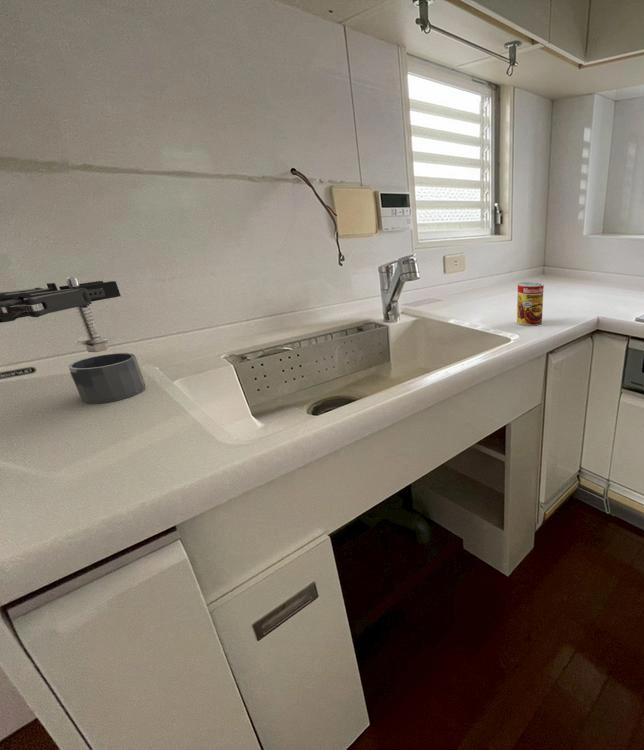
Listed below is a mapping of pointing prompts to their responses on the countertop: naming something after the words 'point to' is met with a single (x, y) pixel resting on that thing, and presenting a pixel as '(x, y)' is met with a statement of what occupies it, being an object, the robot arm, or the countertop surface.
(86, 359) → the steel cup
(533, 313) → the canned food
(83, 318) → the screw
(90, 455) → the countertop surface
